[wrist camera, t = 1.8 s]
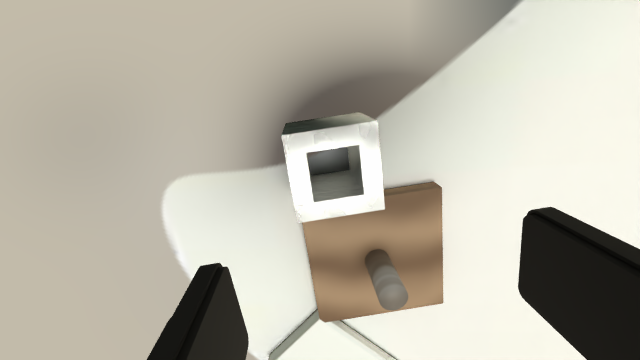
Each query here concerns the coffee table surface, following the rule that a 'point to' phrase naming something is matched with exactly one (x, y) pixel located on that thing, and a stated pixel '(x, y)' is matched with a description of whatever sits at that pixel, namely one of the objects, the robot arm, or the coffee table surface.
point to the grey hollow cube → (337, 187)
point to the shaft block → (379, 256)
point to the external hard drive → (327, 343)
